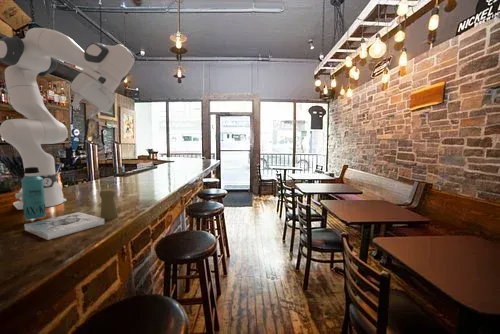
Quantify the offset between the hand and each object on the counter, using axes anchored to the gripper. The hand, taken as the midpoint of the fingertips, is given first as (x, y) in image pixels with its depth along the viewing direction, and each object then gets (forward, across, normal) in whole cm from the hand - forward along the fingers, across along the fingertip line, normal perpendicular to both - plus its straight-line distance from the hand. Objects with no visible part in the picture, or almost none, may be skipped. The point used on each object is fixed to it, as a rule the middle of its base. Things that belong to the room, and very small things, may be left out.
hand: (82, 111), depth 99 cm
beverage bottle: (+43, -6, +7) cm, 44 cm away
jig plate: (+36, +2, +22) cm, 42 cm away
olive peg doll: (+29, -9, +28) cm, 41 cm away
